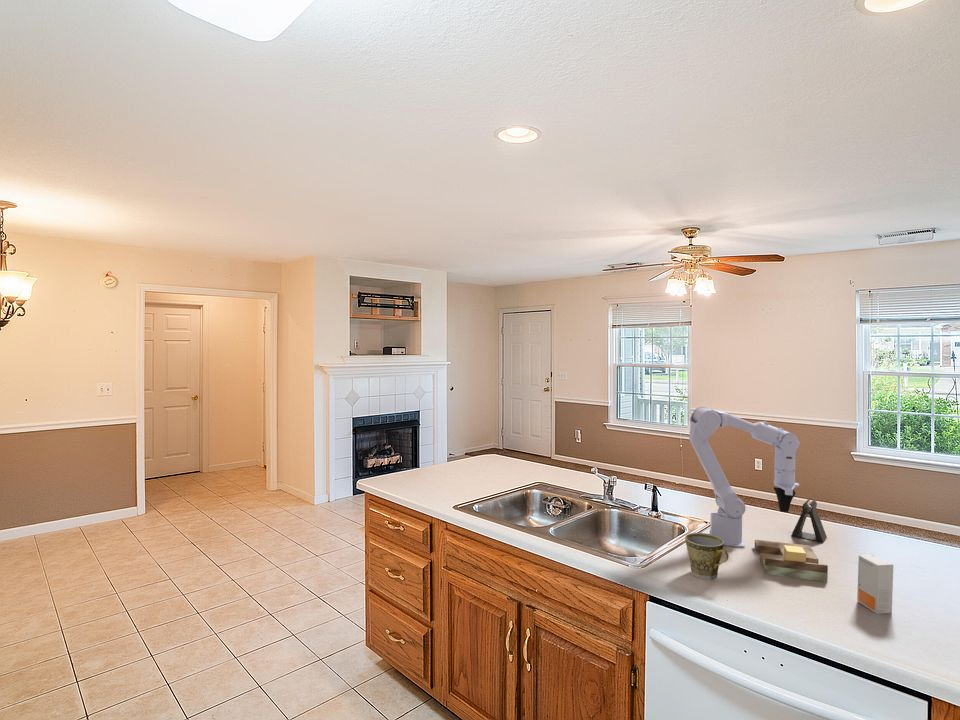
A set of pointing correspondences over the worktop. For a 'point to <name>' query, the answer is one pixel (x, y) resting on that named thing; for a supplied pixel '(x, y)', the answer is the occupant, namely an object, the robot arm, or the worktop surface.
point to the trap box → (790, 562)
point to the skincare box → (875, 583)
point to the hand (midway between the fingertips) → (783, 511)
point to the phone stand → (816, 523)
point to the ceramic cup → (705, 554)
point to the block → (794, 553)
